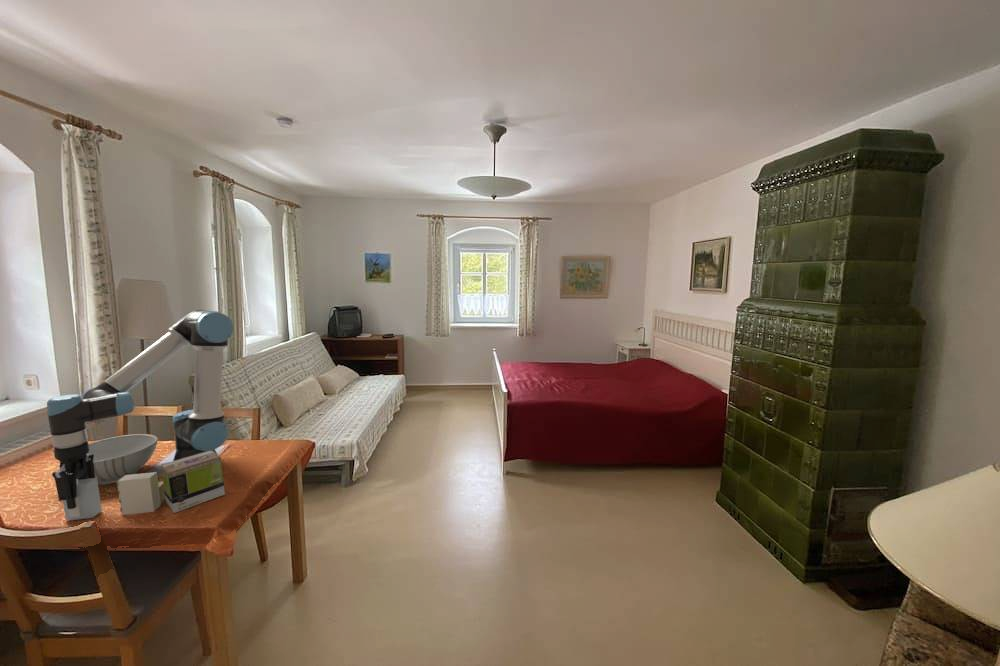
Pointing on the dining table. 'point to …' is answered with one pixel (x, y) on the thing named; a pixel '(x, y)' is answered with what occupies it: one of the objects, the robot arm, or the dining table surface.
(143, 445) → the decorative bowl
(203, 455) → the tea box
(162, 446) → the dining table surface
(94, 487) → the stub
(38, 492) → the dining table surface
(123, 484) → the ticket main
